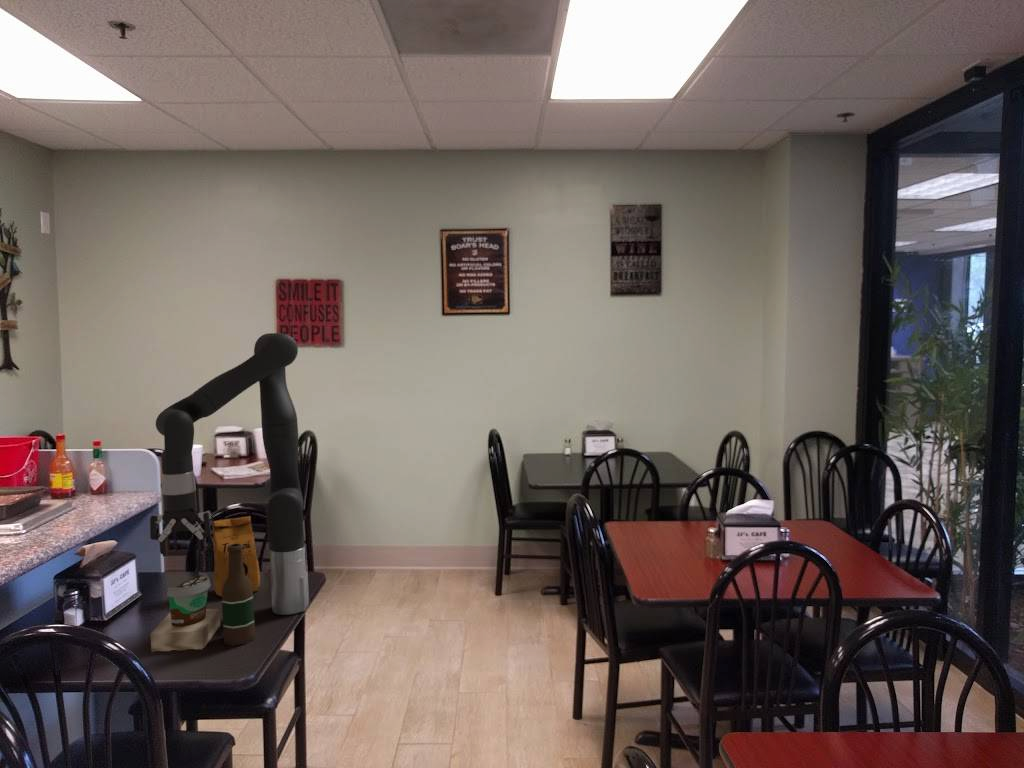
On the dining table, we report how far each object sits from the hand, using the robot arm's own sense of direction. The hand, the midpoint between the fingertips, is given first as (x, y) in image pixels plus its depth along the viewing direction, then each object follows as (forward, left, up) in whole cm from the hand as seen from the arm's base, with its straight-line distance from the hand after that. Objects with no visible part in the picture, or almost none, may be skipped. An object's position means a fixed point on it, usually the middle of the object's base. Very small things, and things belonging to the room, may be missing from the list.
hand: (183, 554), depth 184 cm
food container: (-2, 0, -17) cm, 17 cm away
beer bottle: (-13, +3, -22) cm, 25 cm away
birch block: (0, 0, -22) cm, 22 cm away
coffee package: (-4, -31, -22) cm, 38 cm away
